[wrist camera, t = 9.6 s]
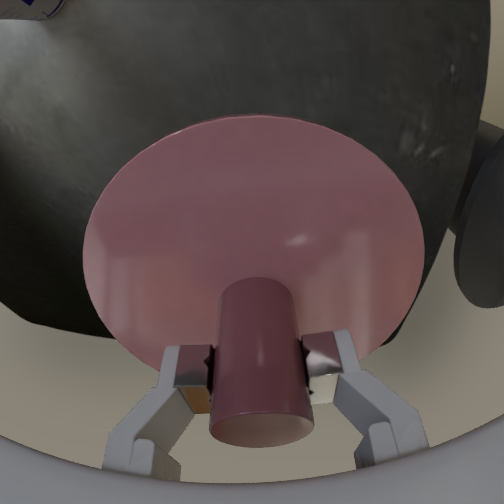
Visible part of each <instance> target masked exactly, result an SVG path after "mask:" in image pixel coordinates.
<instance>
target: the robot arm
mask: <svg viewBox="0 0 504 504" xmlns="http://www.w3.org/2000/svg"><path fill="white" fill-rule="evenodd" d="M301 346H302V352H303V358H304V361H305V370H306V376H307V382H308V388H309V392H310V398H311V405H318V404H325V403H332V402H333V404H334V405H335V406H336V407H337V408H338V409H339V410H340V412H341V413H342V414H343V415H344V416H345V417H346V418H347V419H348V420H349V421H350V422H351V423H352V424H353V425H354V426H355V428H356V429H357V430H358V431H359V432H360V433H361V434H362V435H363V436H364V437H363V439H362V441H361V442H360V444H359V446H358V447H357V449H356V450H355V452H354V458H355V463H356V470H352V471H348V472H342V473H337V474H331V475H326V476H320V477H313V478H306V479H298V480H288V481H277V482H262V483H231V484H230V483H229V484H228V483H195V482H181V481H180V473H181V465H180V464H179V463H178V462H177V461H176V460H174V459H173V458H172V457H171V456H169V455H168V453H169V451H170V450H171V448H172V447H173V446H174V444H175V443H176V441H177V440H178V439H179V437H180V436H181V434H182V433H183V431H184V430H185V429H186V427H187V426H188V424H189V423H190V422H191V420H192V419H193V417H194V415H195V414H202V413H210V406H211V390H212V375H213V361H214V347H213V344H206V345H167V346H166V348H165V350H164V354H163V359H162V364H161V368H160V374H159V378H158V384H157V387H152V389H151V390H150V391H149V392H148V393H147V394H146V395H145V396H144V397H143V398H142V399H141V400H140V401H139V402H138V403H137V405H136V406H135V407H134V408H133V409H132V410H131V411H130V412H129V413H128V414H127V415H126V416H125V417H124V418H123V419H122V420H121V421H120V423H118V424H117V426H116V427H115V428H114V429H113V430H112V431H111V432H110V433H109V436H108V440H107V445H106V450H105V454H104V460H103V465H102V469H98V468H94V467H90V466H86V465H82V464H78V463H75V462H71V461H67V460H64V459H61V458H58V457H55V456H52V455H49V454H46V453H43V452H40V451H38V450H35V449H32V448H30V447H27V446H24V445H22V444H20V443H17V442H15V441H13V440H10V439H8V438H6V437H4V436H1V435H0V504H504V414H503V415H501V416H499V417H497V418H495V419H494V420H492V421H490V422H488V423H486V424H484V425H482V426H480V427H478V428H476V429H474V430H472V431H470V432H467V433H465V434H463V435H461V436H458V437H456V438H454V439H451V440H449V441H447V442H444V443H442V444H439V445H436V446H434V447H431V448H430V447H429V443H428V440H427V437H426V434H425V431H424V427H423V424H422V421H421V418H420V415H419V412H418V410H417V409H415V408H414V407H413V406H412V405H410V404H409V403H408V402H407V401H405V400H404V399H403V398H401V397H400V396H399V395H398V394H396V393H395V392H394V391H393V390H391V389H390V388H389V387H388V386H386V385H385V384H384V383H383V382H381V381H380V380H379V379H378V378H376V377H375V376H374V375H373V374H372V373H370V372H369V371H368V370H366V369H364V370H362V369H361V366H360V362H359V359H358V356H357V353H356V349H355V346H354V343H353V340H352V337H351V334H350V331H349V330H348V329H341V330H335V331H326V332H320V333H313V334H306V335H301Z"/></svg>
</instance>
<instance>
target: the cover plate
mask: <svg viewBox="0 0 504 504" xmlns="http://www.w3.org/2000/svg"><path fill="white" fill-rule="evenodd" d="M424 249H425V247H424V239H423V230H422V226H421V222H420V219H419V216H418V212H417V209H416V207H415V205H414V203H413V201H412V199H411V197H410V195H409V193H408V191H407V189H406V188H405V187H404V185H403V184H402V183H401V181H400V180H399V179H398V177H397V176H396V175H395V173H394V172H393V171H392V170H391V169H390V168H389V167H388V166H387V165H386V164H385V163H384V162H383V161H382V160H381V159H380V158H379V157H377V156H376V155H375V154H374V153H373V152H371V151H370V150H369V149H367V148H366V147H364V146H363V145H361V144H360V143H358V142H357V141H355V140H354V139H352V138H350V137H349V136H347V135H345V134H343V133H341V132H338V131H336V130H334V129H332V128H329V127H327V126H325V125H322V124H319V123H316V122H312V121H308V120H304V119H301V118H297V117H292V116H284V115H274V114H263V113H255V114H238V115H227V116H222V117H218V118H213V119H209V120H204V121H200V122H196V123H194V124H191V125H189V126H186V127H184V128H181V129H179V130H176V131H174V132H171V133H169V134H167V135H165V136H164V137H162V138H160V139H159V140H157V141H155V142H154V143H152V144H150V145H149V146H147V147H146V148H144V149H143V150H142V151H141V152H139V153H138V154H137V155H136V156H135V157H133V158H132V159H131V160H130V161H129V162H128V163H127V164H125V165H124V166H123V167H122V168H121V169H120V170H119V171H118V173H117V174H116V175H115V176H114V177H113V179H112V180H111V181H110V182H109V183H108V185H107V186H106V187H105V188H104V190H103V192H102V194H101V195H100V197H99V199H98V201H97V202H96V204H95V206H94V208H93V210H92V213H91V216H90V219H89V222H88V225H87V227H86V232H85V238H84V244H83V270H84V276H85V282H86V286H87V289H88V292H89V295H90V298H91V301H92V303H93V305H94V307H95V309H96V311H97V313H98V315H99V317H100V318H101V320H102V321H103V323H104V324H105V326H106V327H107V329H108V330H109V331H110V332H111V334H112V335H113V336H114V337H115V338H116V339H117V340H118V341H119V343H121V344H122V345H123V346H124V347H125V348H126V349H127V350H128V351H129V352H131V353H132V354H133V355H134V356H136V357H137V358H138V359H140V360H141V361H143V362H144V363H145V364H147V365H149V366H151V367H152V368H154V369H156V370H157V371H159V372H160V368H161V364H162V359H163V354H164V350H165V348H166V346H167V345H206V344H213V347H214V361H213V375H212V390H211V406H210V424H209V431H210V433H211V435H212V436H213V437H214V438H216V439H217V440H219V441H221V442H224V443H226V444H230V445H234V446H241V447H250V448H262V447H274V446H280V445H285V444H288V443H292V442H295V441H298V440H300V439H302V438H304V437H306V436H307V435H308V434H310V433H311V432H312V430H313V428H314V418H313V412H312V405H311V398H310V392H309V388H308V382H307V376H306V370H305V361H304V358H303V352H302V346H301V335H306V334H313V333H320V332H326V331H335V330H341V329H348V330H349V331H350V334H351V337H352V340H353V343H354V346H355V349H356V353H357V356H358V359H359V361H361V360H362V359H364V358H365V357H366V356H368V355H369V354H370V353H371V352H373V351H374V350H376V349H377V348H378V347H379V346H380V345H381V344H382V343H383V342H384V341H385V340H386V339H387V338H388V337H389V336H390V335H391V334H392V333H393V332H394V330H395V329H396V328H397V327H398V325H399V324H400V323H401V321H402V320H403V318H404V317H405V315H406V314H407V312H408V310H409V308H410V306H411V304H412V303H413V301H414V299H415V296H416V293H417V290H418V288H419V285H420V282H421V277H422V272H423V267H424Z"/></svg>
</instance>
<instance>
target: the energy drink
mask: <svg viewBox="0 0 504 504" xmlns="http://www.w3.org/2000/svg"><path fill="white" fill-rule="evenodd" d="M64 2H65V0H0V19H15V20H36V21H42V20H46V19H48V18H50V17H52V16H53V15H54V14H56V13H57V12H58V11H59V9H60V8H61V7H62V6H63V4H64Z"/></svg>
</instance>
